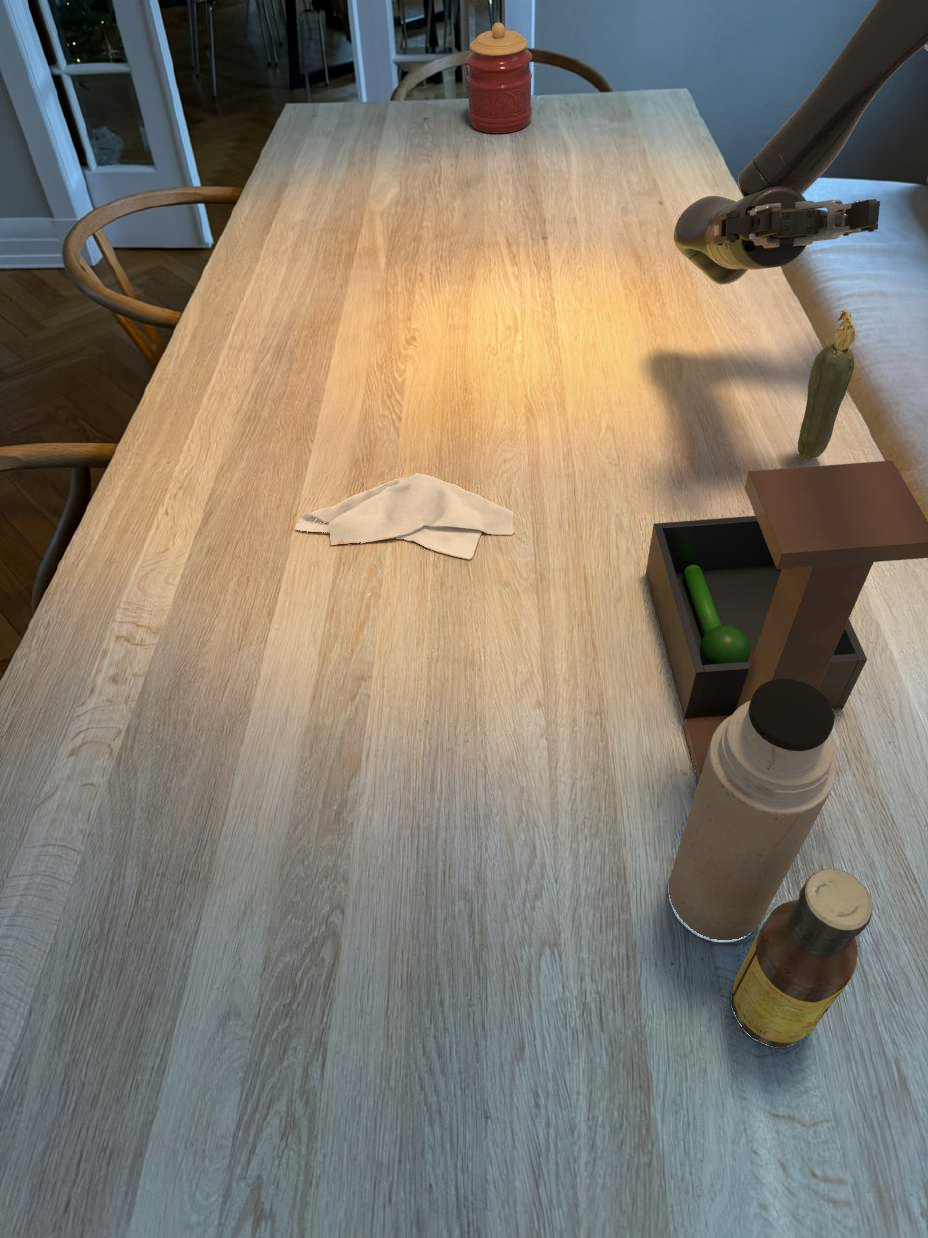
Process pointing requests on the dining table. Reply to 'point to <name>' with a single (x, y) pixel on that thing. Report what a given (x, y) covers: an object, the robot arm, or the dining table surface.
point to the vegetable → (827, 390)
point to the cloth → (414, 516)
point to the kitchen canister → (499, 81)
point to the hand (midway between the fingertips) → (824, 216)
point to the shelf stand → (819, 565)
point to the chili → (714, 625)
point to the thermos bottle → (753, 808)
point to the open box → (725, 610)
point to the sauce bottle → (801, 959)
